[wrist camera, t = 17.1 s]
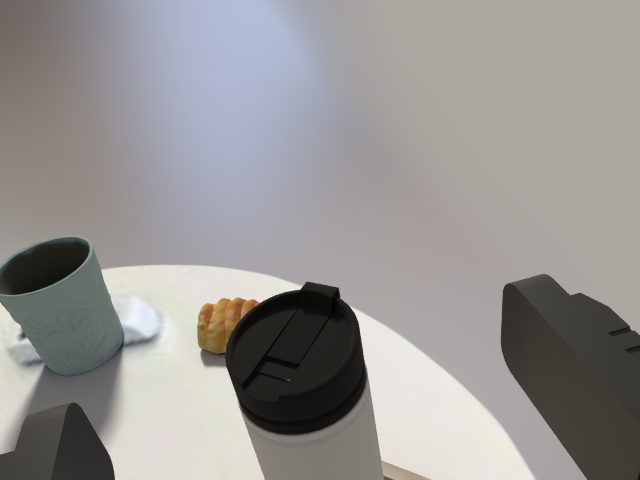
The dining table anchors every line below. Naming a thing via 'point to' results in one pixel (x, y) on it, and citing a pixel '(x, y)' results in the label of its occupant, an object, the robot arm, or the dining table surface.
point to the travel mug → (305, 387)
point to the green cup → (62, 304)
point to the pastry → (220, 322)
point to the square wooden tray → (399, 473)
